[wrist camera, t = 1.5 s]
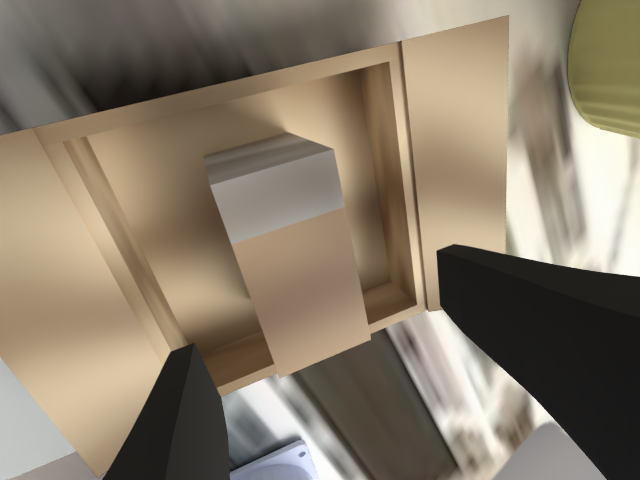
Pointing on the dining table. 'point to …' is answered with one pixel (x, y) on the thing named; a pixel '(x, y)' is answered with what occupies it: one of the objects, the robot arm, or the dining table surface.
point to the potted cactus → (607, 64)
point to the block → (292, 246)
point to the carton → (208, 228)
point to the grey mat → (25, 430)
